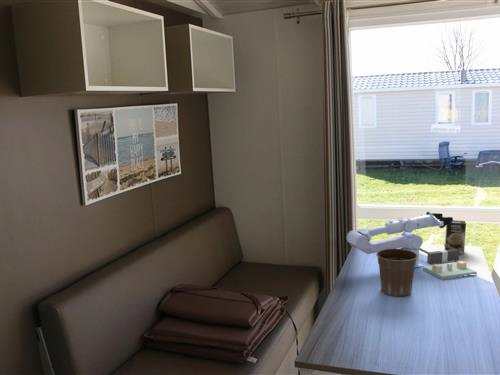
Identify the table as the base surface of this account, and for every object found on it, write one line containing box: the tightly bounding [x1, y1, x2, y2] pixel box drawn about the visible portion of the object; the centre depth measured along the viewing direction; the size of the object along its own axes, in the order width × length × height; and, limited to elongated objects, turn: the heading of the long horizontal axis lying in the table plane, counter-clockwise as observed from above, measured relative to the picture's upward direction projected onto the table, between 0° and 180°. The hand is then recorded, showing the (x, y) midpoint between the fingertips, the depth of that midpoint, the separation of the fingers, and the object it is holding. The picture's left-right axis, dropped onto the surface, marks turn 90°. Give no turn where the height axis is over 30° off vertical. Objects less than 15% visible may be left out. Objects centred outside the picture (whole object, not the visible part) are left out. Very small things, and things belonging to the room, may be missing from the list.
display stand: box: [422, 260, 478, 281], centre depth 235 cm, size 18×14×4 cm
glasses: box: [419, 244, 460, 265], centre depth 254 cm, size 16×10×5 cm, turn 106°
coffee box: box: [443, 219, 467, 255], centre depth 263 cm, size 9×6×16 cm
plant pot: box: [375, 248, 418, 297], centre depth 214 cm, size 16×16×16 cm
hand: (447, 217), depth 247 cm, fingers open, 7 cm apart
